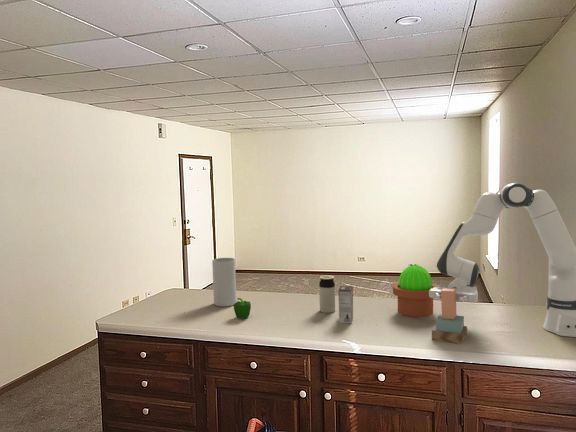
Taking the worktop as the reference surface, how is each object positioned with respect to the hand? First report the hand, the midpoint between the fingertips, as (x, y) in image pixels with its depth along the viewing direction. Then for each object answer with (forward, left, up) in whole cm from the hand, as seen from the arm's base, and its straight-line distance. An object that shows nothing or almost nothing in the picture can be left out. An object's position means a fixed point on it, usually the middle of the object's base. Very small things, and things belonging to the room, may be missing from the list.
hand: (449, 298), depth 200 cm
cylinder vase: (+121, 0, -17) cm, 122 cm away
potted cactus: (+23, -30, -17) cm, 41 cm away
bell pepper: (+97, +16, -17) cm, 100 cm away
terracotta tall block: (0, -1, -8) cm, 8 cm away
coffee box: (+49, -3, -17) cm, 52 cm away
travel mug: (+64, -13, -17) cm, 67 cm away
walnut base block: (0, -1, -17) cm, 18 cm away
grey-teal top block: (0, -1, -13) cm, 13 cm away
